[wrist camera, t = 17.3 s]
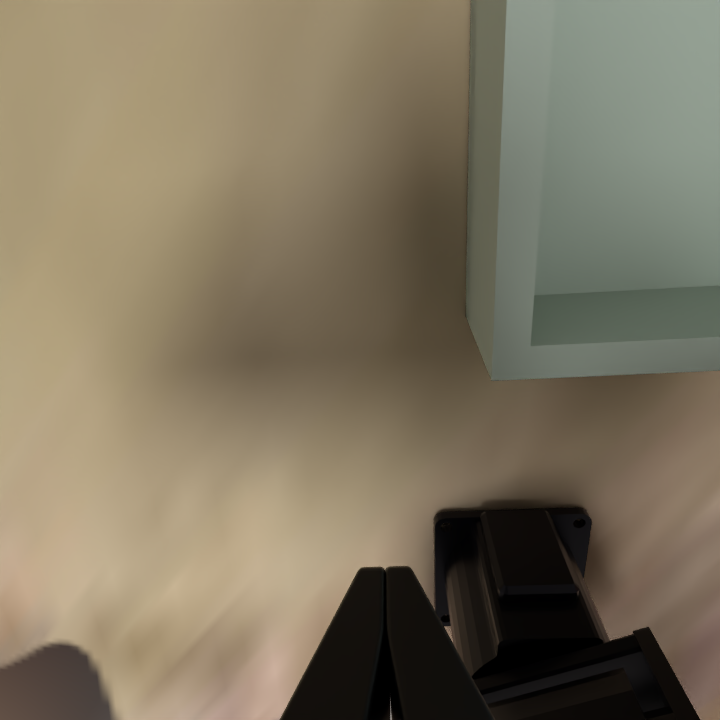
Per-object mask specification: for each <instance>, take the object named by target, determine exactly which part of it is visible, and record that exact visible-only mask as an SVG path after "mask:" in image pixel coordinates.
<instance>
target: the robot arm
mask: <svg viewBox="0 0 720 720" xmlns="http://www.w3.org/2000/svg"><path fill="white" fill-rule="evenodd" d="M576 519H581V520H579V521H575V520H576ZM443 523H450V524H449V525H442V524H443ZM591 524H592V521H591V518H590V516H589V514H588V512H587V511H586V510H585V509H583V508H578V507H575V508H544V509H513V510H482V511H451V512H441V513H439V514H437V515H436V516H435V518H434V594H435V610H434V608H433V606H432V604H431V603H430V601H429V599H428V597H427V595H426V594H425V592H424V590H423V588H422V586H421V585H420V583H419V581H418V579H417V577H416V576H415V574H414V572H413V570H412V569H411V568H410V567H409V566H391V567H387V568H386V570H384V568H382V567H362V568H360V569H359V570H358V572H357V574H356V576H355V578H354V579H353V581H352V583H351V585H350V587H349V589H348V591H347V593H346V595H345V597H344V598H343V600H342V602H341V604H340V606H339V608H338V610H337V612H336V614H335V616H334V617H333V619H332V621H331V623H330V625H329V627H328V629H327V631H326V633H325V635H324V636H323V638H322V640H321V642H320V644H319V646H318V648H317V650H316V652H315V654H314V655H313V657H312V659H311V661H310V663H309V665H308V667H307V669H306V671H305V673H304V674H303V676H302V678H301V680H300V682H299V684H298V686H297V688H296V690H295V692H294V694H293V695H292V697H291V699H290V701H289V703H288V705H287V707H286V709H285V711H284V713H283V714H282V716H281V718H280V720H390V699H391V713H392V720H700V719H699V717H698V715H697V713H696V711H695V710H694V708H693V706H692V704H691V702H690V700H689V699H688V697H687V695H686V693H685V691H684V690H683V688H682V686H681V684H680V682H679V681H678V679H677V677H676V675H675V673H674V672H673V670H672V668H671V666H670V664H669V663H668V661H667V659H666V657H665V655H664V654H663V652H662V650H661V648H660V646H659V645H658V643H657V641H656V639H655V637H654V636H653V634H652V632H651V630H650V628H649V627H646V628H642V629H639V630H635V631H633V634H632V635H629V636H625V637H622V638H618V639H615V640H611V641H610V640H609V638H608V635H607V633H606V631H605V628H604V626H603V624H602V621H601V619H600V617H599V614H598V612H597V609H596V607H595V605H594V602H593V600H592V598H591V595H590V593H589V591H588V588H587V586H586V584H585V581H584V572H585V565H586V559H587V552H588V545H589V538H590V531H591ZM444 626H451V630H452V637H453V642H452V641H451V639H450V637H449V635H448V633H447V632H446V630H445V628H444Z"/></svg>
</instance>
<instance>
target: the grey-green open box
mask: <svg viewBox="0 0 720 720" xmlns="http://www.w3.org/2000/svg"><path fill="white" fill-rule="evenodd" d="M466 318H467V321H468V323H469V326H470V328H471V331H472V333H473V336H474V338H475V341H476V343H477V346H478V348H479V351H480V353H481V356H482V358H483V361H484V363H485V366H486V368H487V371H488V373H489V376H490V378H491V381H499V380H521V379H544V378H566V377H588V376H610V375H632V374H655V373H677V372H699V371H720V0H471V18H470V79H469V140H468V202H467V263H466Z"/></svg>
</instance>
